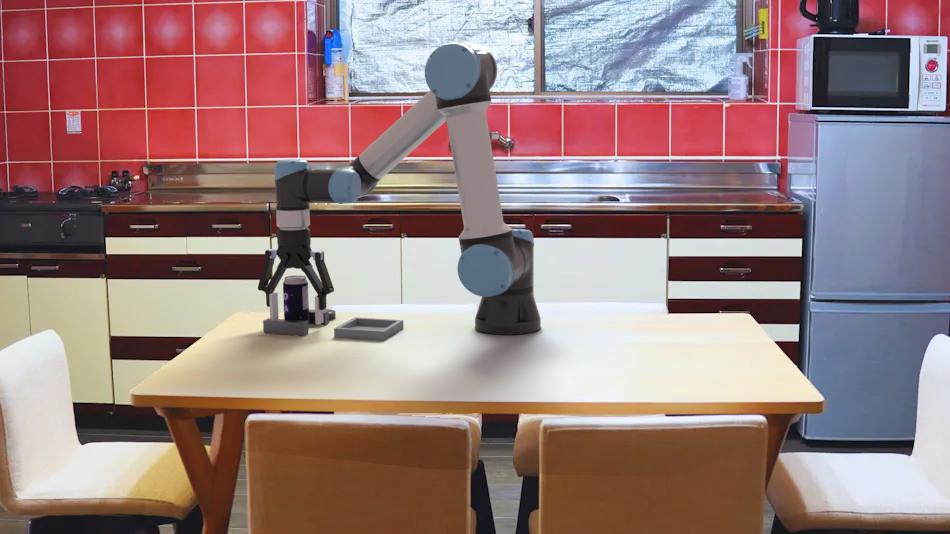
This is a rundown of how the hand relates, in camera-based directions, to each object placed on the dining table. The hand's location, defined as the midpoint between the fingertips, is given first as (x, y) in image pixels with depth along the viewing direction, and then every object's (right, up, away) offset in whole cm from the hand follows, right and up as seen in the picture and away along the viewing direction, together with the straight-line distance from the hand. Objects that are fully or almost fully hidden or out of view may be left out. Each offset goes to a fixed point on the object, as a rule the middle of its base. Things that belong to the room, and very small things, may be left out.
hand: (296, 322), depth 254 cm
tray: (+17, -2, -5) cm, 18 cm away
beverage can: (0, -2, 0) cm, 2 cm away
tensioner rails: (+1, -1, +4) cm, 4 cm away
